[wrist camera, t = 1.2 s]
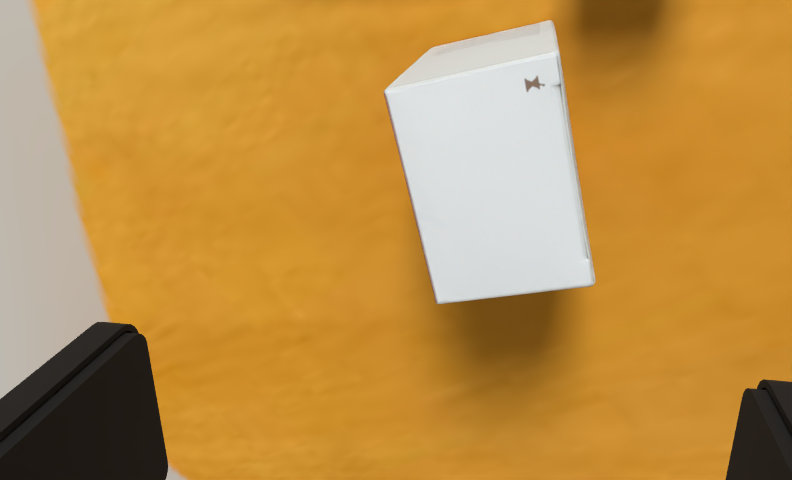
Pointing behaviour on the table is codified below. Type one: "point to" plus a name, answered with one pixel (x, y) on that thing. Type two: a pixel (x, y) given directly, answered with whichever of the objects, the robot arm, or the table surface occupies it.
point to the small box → (492, 166)
